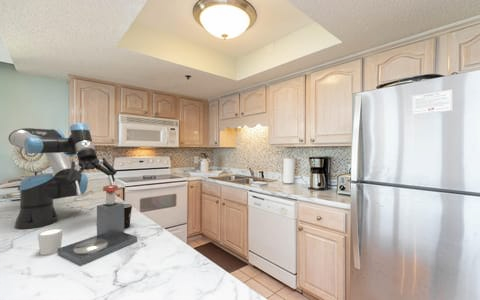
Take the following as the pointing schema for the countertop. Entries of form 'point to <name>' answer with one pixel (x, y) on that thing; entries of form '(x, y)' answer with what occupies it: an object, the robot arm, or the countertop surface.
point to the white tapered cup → (50, 241)
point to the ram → (110, 194)
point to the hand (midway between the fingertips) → (97, 191)
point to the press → (101, 237)
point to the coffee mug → (127, 215)
